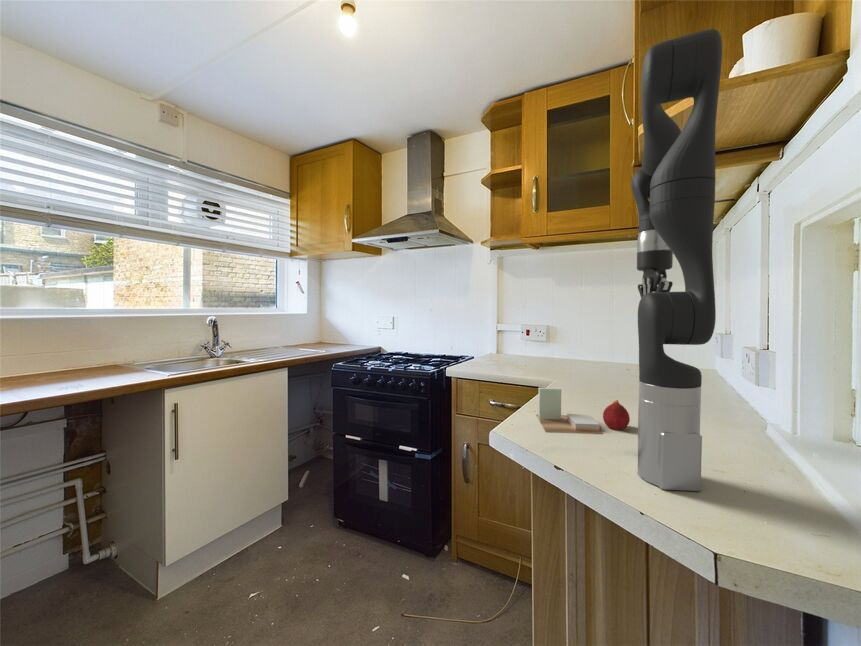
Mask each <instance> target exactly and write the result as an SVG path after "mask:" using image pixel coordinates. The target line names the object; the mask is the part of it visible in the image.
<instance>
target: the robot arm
mask: <svg viewBox="0 0 861 646" xmlns="http://www.w3.org/2000/svg"><path fill="white" fill-rule="evenodd" d="M722 41H723V40H722V36H721V34H720V31H719V30H717V29H715V28H709V29H705V30H704V29H703V30H700V31H697V32H696V31H695V32H692V33H690V34H689V33H688V34H685V35H682V36H678V37H674V38H672V39H667V40H664V41H661V42H659V43H656V44H654V45H652V46H650V47H649V49H648V50H647V52H646V53H645V56H644V60H643V62H642V63H643V64H642V68H641V81H640V82H641V85H640V91H641V94H640V95H641V116H642V117H641V118H642V130H643V150H642V158H641V159H642V160H641V169H638V170H637V171H636V172H635V173H634V174H633V175H632V178H631V180H630V188H631V192H632V195H633V199H634V201H635V205H636V208H637V213H638V214H637V215H638V236H637V242H636V250H637V251H636V270H637V271H639V272H643V273H642V280H641V283H640V284H637V290H638V293H639V295H640V300H639V302H638V307H637V333H638V334H637V335H638V373H639V374H638V375H639V376H638V410H637V411H638V417H637V418H638V419H637V421H638V422H637V475H638V476H639V477H640V478H641V479H643V480H644V481H646V482H648V483H649V484H652V485H655V486H657V487H659V488H660V489H661V490H667V491H668V490H671V491H691V492H701V491H702V490H701V489H702V487H701V486H702V484H701V483H702V455H703V453H702V451H703V435H701V404H702V383H703V381H702V380H703V378H702V377H703V376H702V372H701V370H700V368H697V367H696V366H693V365H690V364H689V363H688V364H687V363H684V362H681V361H678V360H675V359H673V358H672V357H670V356H669V355H667V354H666V353H665V348H664V345H679V346H681V345H684V346H685V345H688V346H690V345H691V346H698V345H699V346H700V345H704V344H705V345H706V344H707V343H708V342H710V340H711V339H712V337H713V335H714V331H715V328H716V321H717V319H716V318H717V317H716V312H717V311H716V295H715V294H716V293H715V281H714V280H715V279H714V278H715V277H714V263H713V262H714V261H713V260H714V259H713V242H714V241H713V239H714V238H713V235H714V216H715V203H716V200H715V199H716V125H717V124H716V123H717V113H718V104H719V103H718V102H719V92H720V83H721V74H722V59H723V42H722ZM691 98H692V99H693V106H692V109H691V112H690V114H689V116H688V119H687V120H686V122H685V124H684V126H683V128H682V130H681V128H680V127H679V125H678V124H677V123H676V122H675V121H674V119H672V117H671V116H670V115H669V114H668V113H667V112H666V111H665V109H664V108H663V106H662V105H663V104H667V103H671V102H677V101H681V100H686V99H691ZM673 256H674V257H675V259H676V260H677V262H678V264H679V267H680V269H681V272H682V275H683V276H682V277H683V281H684V288H685V289H684V291H671V289H672V287H673V281H668V280H667V277H668V275H667V270H668V271H669V270H671V269H672V268H673V264H674V263H673V258H674V257H673Z"/></svg>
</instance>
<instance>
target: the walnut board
mask: <svg viewBox="0 0 861 646" xmlns="http://www.w3.org/2000/svg"><path fill="white" fill-rule="evenodd" d="M535 415H536V417H537V419H538V421H539V423H540V425H541V426H542V428H543V430H544V432H545V433H551V434H553V433H554V434H557V433H558V434H584V435H585V434H586V435H604V433H603V432H602V430H600V431H585V430H575V429H574V428H573V426H572V425H571V424H570V423H569V422H568V420H567V414H566V415H564V414H563V415H562V414H561V419H539V417H538V414H535Z"/></svg>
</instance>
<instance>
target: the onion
mask: <svg viewBox="0 0 861 646" xmlns="http://www.w3.org/2000/svg"><path fill="white" fill-rule="evenodd" d="M602 418H603V422H604V424H605V426H607V428H608V429H611V430H615V431H623V430H624V429H625V428H627V427H628V425H630V421H631V419H630V418H631V417H630V414H629V412H628V410H627V409H626V408H625V407H624V406H623V404H621V403H620V402H619V400H618V399H613V402H612V403H611V404H609V405H607V406H606V408H604V411H603V412H602Z"/></svg>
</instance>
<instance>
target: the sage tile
mask: <svg viewBox="0 0 861 646" xmlns="http://www.w3.org/2000/svg"><path fill="white" fill-rule="evenodd" d="M537 402H538V403H537V404H538V408H537V409H538V410H537V411H538V414H537V415H538V417H539V419H561V415H562V388H561V387H538V401H537ZM538 417H537V418H538ZM539 419H538V420H539Z"/></svg>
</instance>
